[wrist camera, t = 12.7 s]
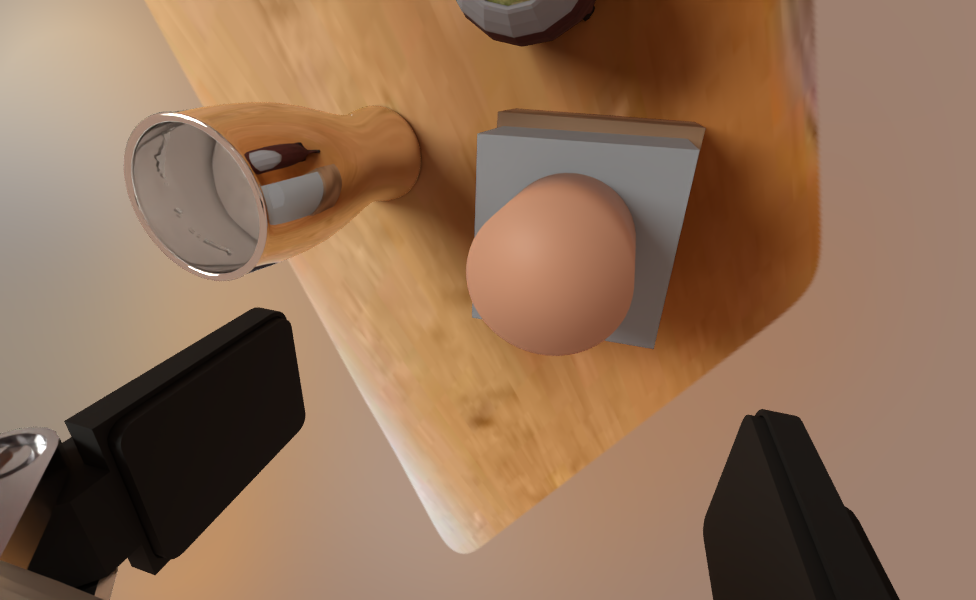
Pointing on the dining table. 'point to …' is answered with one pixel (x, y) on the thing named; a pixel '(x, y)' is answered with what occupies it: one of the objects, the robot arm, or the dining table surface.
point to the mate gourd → (526, 18)
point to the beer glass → (261, 179)
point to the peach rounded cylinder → (555, 265)
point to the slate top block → (622, 166)
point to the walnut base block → (602, 124)
